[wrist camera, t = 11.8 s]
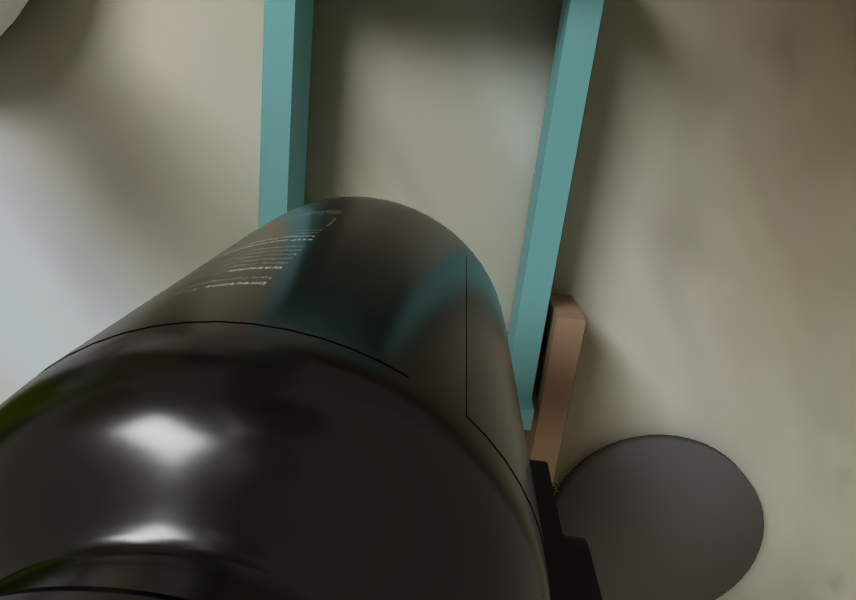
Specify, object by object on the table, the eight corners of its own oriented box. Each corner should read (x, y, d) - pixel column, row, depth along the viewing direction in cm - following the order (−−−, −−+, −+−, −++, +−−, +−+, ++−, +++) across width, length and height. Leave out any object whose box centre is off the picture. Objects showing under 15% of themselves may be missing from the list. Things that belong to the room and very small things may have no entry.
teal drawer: (288, -90, 20) (241, -145, 16) (602, -57, 19) (636, -105, 15) (273, 358, 24) (234, 403, 20) (523, 391, 24) (533, 444, 20)
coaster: (569, 421, 25) (571, 428, 24) (783, 450, 24) (790, 458, 24) (534, 590, 27) (535, 600, 27) (726, 618, 27) (731, 629, 26)
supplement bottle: (225, 428, 15) (-466, 1342, 4) (235, 169, 13) (-1277, 608, 2) (480, 471, 15) (503, 1543, 4) (534, 218, 13) (963, 1028, 2)
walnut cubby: (248, 254, 24) (216, 272, 21) (571, 296, 23) (586, 320, 20) (240, 605, 29) (215, 658, 26) (504, 644, 28) (507, 702, 26)
